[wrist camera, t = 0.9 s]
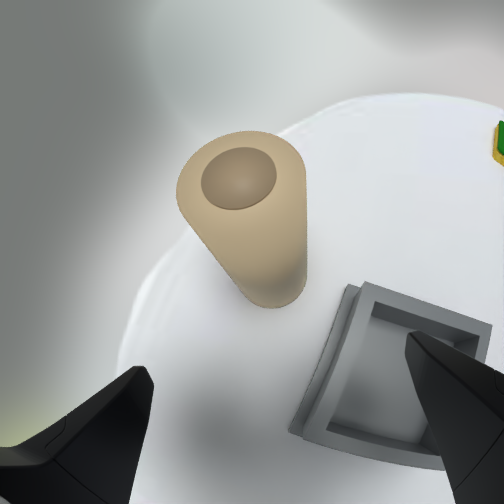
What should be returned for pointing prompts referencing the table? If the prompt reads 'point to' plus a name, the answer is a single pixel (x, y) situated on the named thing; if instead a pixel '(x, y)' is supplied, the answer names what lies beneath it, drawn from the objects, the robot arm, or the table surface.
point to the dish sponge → (499, 143)
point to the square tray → (380, 377)
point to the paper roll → (250, 212)
